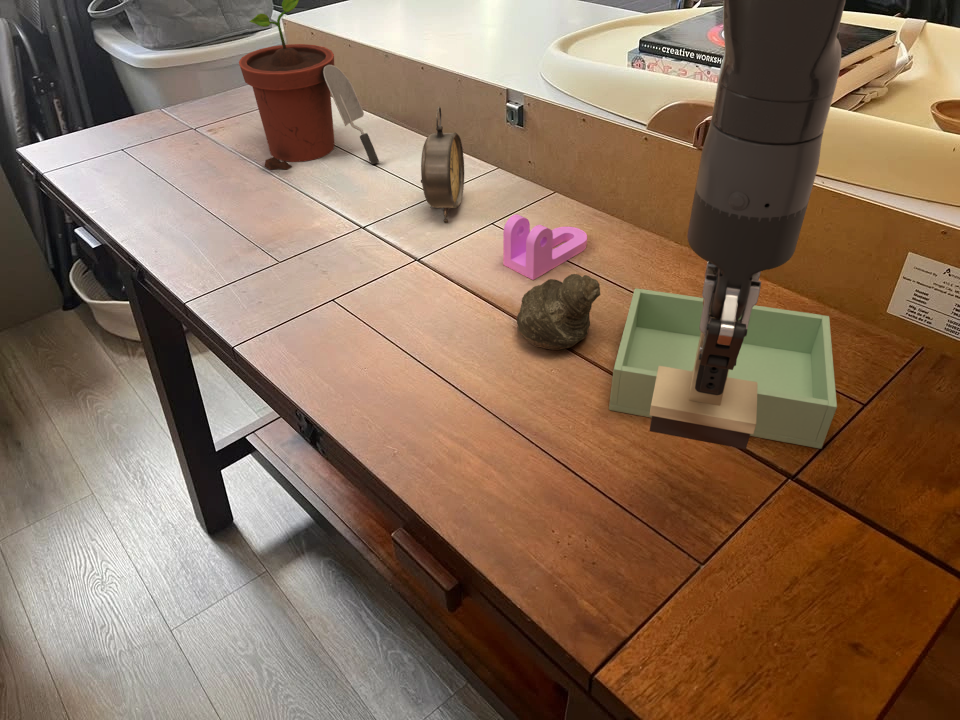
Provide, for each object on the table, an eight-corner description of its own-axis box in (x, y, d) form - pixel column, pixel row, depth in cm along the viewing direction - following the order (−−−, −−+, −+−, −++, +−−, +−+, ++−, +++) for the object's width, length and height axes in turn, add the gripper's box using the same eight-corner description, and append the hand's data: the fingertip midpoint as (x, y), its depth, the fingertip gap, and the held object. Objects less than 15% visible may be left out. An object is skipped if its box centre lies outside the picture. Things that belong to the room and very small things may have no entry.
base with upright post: (750, 409, 67) (776, 315, 61) (748, 451, 63) (775, 356, 57) (654, 392, 69) (669, 299, 63) (646, 432, 65) (662, 338, 59)
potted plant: (337, 123, 147) (316, -18, 131) (380, 164, 132) (363, 10, 116) (246, 142, 140) (213, -4, 125) (281, 188, 125) (249, 29, 110)
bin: (816, 356, 88) (829, 315, 85) (821, 449, 77) (837, 407, 73) (629, 327, 94) (634, 287, 90) (608, 410, 82) (613, 368, 78)
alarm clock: (454, 227, 114) (449, 122, 104) (419, 225, 115) (411, 120, 104) (467, 194, 122) (463, 93, 112) (434, 192, 123) (427, 92, 113)
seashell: (570, 339, 82) (633, 302, 87) (509, 252, 84) (573, 221, 89) (531, 377, 92) (589, 342, 96) (477, 299, 94) (536, 269, 98)
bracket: (533, 280, 102) (534, 234, 98) (503, 264, 105) (503, 220, 101) (594, 244, 109) (598, 200, 105) (564, 231, 112) (567, 187, 108)
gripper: (813, 244, 46) (754, 445, 57) (807, 152, 57) (758, 337, 67) (687, 229, 48) (653, 426, 59) (703, 142, 58) (672, 323, 69)
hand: (709, 377), depth 63 cm, fingers closed on base with upright post, 2 cm apart
